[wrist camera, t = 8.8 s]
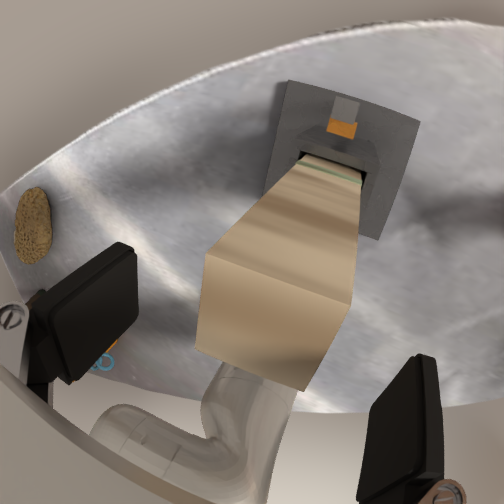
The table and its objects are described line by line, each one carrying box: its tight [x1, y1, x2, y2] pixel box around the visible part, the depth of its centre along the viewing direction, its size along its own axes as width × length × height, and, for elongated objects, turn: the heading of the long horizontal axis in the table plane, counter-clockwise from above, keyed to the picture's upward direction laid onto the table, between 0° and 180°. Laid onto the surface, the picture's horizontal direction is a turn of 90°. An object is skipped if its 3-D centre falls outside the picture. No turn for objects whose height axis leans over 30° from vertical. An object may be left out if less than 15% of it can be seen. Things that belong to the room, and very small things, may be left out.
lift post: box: [195, 153, 362, 392], centre depth 17 cm, size 4×4×20 cm
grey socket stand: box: [262, 80, 421, 240], centre depth 25 cm, size 14×14×18 cm
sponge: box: [14, 187, 52, 265], centre depth 53 cm, size 13×8×20 cm
